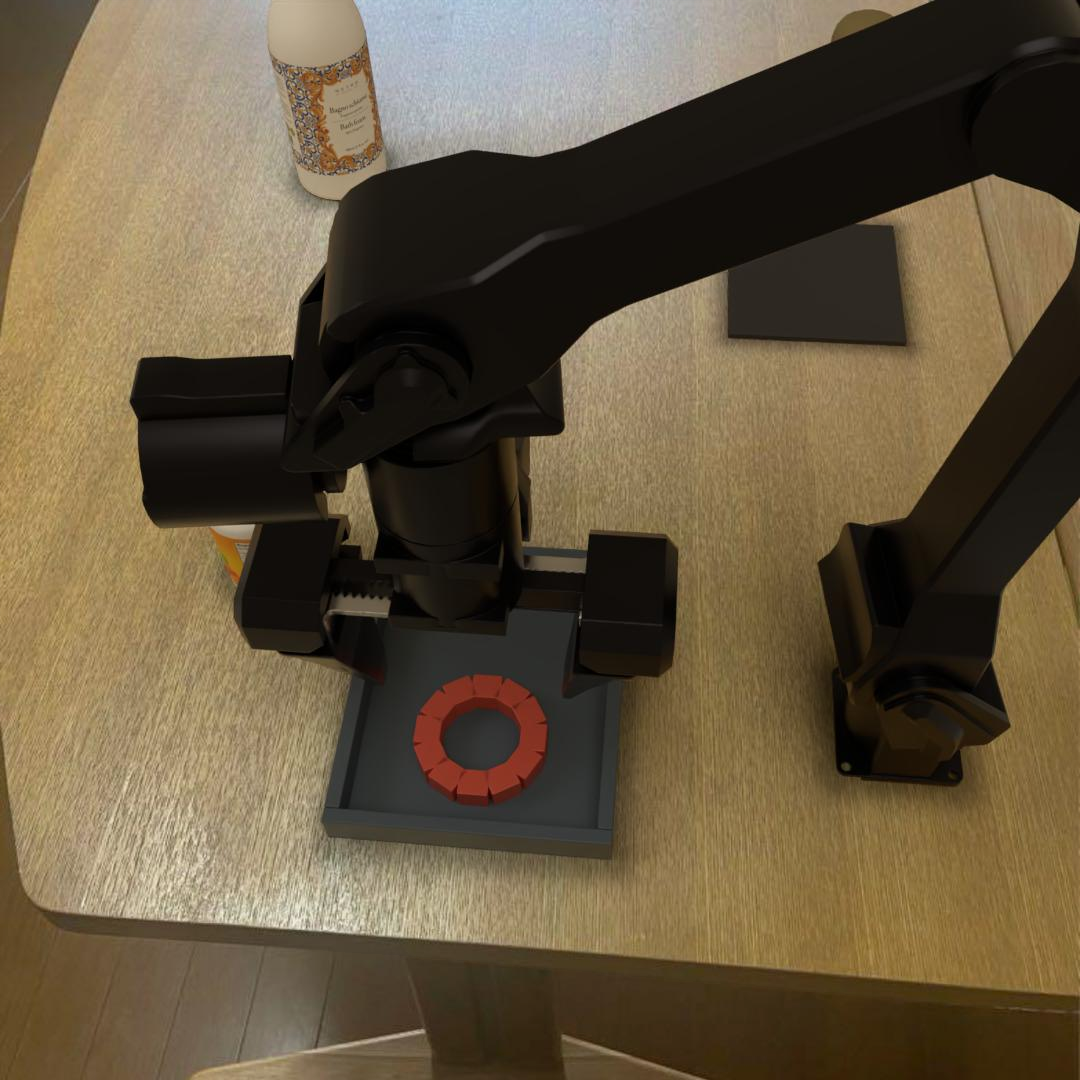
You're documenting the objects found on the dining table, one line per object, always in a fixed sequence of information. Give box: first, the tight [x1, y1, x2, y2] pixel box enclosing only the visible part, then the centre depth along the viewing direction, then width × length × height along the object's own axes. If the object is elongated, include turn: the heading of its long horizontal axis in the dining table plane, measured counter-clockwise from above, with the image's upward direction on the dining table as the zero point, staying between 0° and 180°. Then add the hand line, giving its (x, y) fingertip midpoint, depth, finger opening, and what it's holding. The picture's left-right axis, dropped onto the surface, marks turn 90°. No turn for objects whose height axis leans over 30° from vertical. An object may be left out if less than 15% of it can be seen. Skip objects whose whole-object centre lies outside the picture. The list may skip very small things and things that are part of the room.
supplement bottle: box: [208, 524, 256, 587], centre depth 68 cm, size 5×5×10 cm
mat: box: [727, 223, 908, 347], centre depth 85 cm, size 12×12×1 cm
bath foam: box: [265, 0, 387, 201], centre depth 85 cm, size 7×7×20 cm
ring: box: [413, 674, 548, 806], centre depth 63 cm, size 7×7×1 cm
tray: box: [320, 545, 624, 861], centre depth 65 cm, size 18×15×2 cm
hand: (474, 682), depth 58 cm, fingers open, 9 cm apart
